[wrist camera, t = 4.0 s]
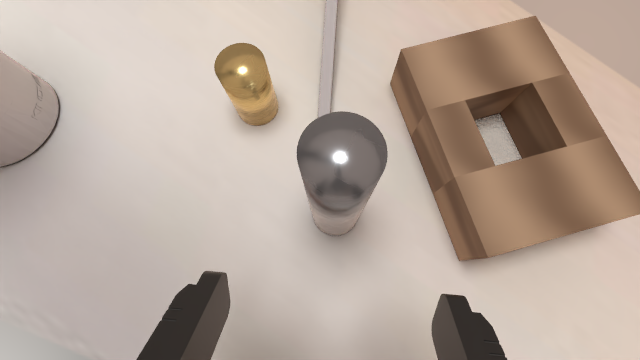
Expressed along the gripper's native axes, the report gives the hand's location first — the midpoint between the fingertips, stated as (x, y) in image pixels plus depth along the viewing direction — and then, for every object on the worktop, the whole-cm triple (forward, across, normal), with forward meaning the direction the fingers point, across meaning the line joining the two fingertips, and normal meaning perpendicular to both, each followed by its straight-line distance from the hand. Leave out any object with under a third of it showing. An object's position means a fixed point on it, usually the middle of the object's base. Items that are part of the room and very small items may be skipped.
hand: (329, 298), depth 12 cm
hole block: (+17, -12, 0) cm, 21 cm away
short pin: (+19, +8, -2) cm, 20 cm away
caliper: (+24, +2, -7) cm, 25 cm away
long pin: (+12, 0, +5) cm, 13 cm away
